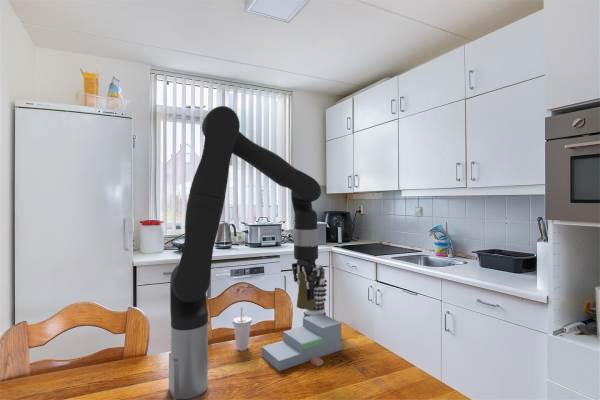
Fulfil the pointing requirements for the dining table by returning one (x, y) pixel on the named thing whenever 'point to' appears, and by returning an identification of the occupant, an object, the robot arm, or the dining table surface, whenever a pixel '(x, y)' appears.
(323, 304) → the decorative candle
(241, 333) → the smoothie
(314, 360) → the pointer
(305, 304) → the olive green pepper mill
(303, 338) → the step stand
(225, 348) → the dining table surface
